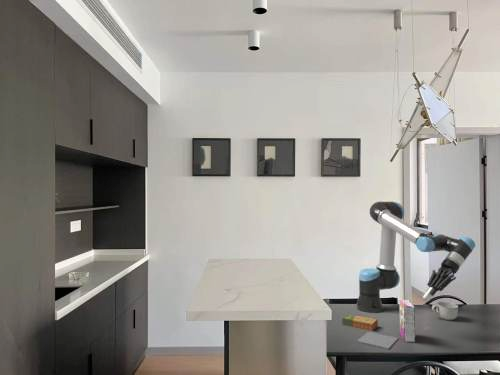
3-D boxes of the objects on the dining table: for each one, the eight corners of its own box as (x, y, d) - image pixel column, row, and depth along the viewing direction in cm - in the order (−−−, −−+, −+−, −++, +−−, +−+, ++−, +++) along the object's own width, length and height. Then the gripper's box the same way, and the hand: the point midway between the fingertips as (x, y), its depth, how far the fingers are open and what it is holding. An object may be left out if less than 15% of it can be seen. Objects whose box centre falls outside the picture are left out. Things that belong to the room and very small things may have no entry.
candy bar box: (399, 333, 180) (398, 299, 180) (410, 334, 179) (409, 300, 179) (403, 341, 169) (403, 305, 169) (415, 342, 168) (415, 306, 168)
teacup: (452, 315, 208) (452, 301, 209) (462, 322, 198) (461, 307, 198) (427, 314, 210) (427, 300, 210) (435, 321, 199) (434, 306, 199)
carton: (372, 332, 182) (372, 323, 182) (341, 325, 192) (341, 317, 192) (377, 327, 189) (377, 319, 189) (347, 321, 198) (347, 313, 199)
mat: (368, 332, 180) (368, 331, 180) (397, 339, 172) (397, 338, 172) (357, 341, 168) (357, 340, 168) (388, 349, 160) (388, 348, 160)
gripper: (467, 270, 177) (440, 308, 171) (446, 266, 189) (420, 301, 184) (458, 259, 175) (431, 297, 170) (437, 256, 188) (411, 291, 183)
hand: (425, 299), depth 177 cm, fingers closed
